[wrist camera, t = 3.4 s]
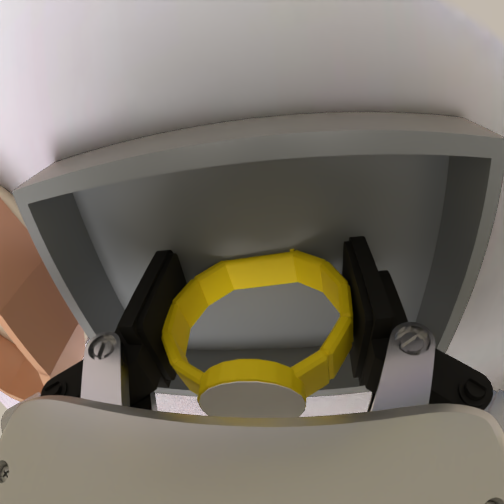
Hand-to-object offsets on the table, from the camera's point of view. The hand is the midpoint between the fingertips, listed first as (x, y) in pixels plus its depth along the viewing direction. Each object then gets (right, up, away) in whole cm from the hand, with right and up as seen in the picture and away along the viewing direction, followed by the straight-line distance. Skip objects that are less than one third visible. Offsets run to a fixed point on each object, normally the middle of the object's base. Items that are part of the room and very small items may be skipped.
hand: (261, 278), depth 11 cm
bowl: (-16, -1, +3) cm, 17 cm away
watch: (0, 0, +1) cm, 1 cm away
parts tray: (0, 0, +1) cm, 1 cm away
